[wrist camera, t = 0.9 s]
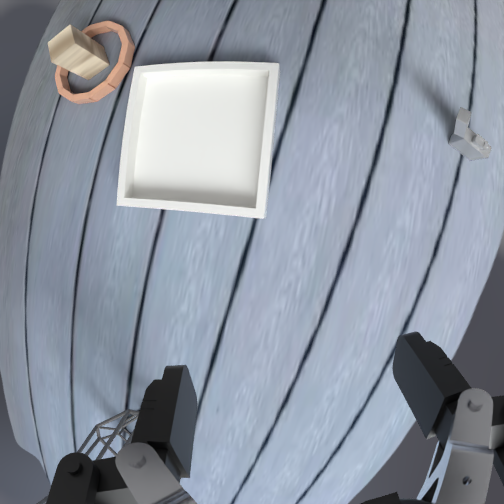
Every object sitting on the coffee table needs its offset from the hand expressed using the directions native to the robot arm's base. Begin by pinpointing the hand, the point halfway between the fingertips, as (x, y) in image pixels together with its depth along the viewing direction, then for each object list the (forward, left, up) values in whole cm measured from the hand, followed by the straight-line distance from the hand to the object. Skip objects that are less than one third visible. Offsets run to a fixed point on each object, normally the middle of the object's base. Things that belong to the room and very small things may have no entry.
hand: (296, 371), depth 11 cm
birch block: (-25, -31, -27) cm, 48 cm away
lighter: (-17, +19, -27) cm, 37 cm away
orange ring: (-25, -31, -27) cm, 48 cm away
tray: (-13, -13, -27) cm, 33 cm away
